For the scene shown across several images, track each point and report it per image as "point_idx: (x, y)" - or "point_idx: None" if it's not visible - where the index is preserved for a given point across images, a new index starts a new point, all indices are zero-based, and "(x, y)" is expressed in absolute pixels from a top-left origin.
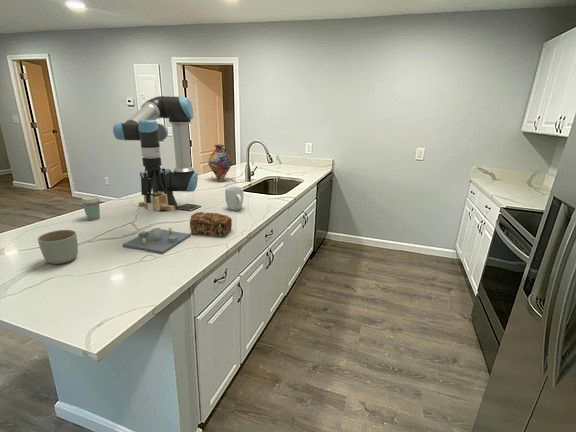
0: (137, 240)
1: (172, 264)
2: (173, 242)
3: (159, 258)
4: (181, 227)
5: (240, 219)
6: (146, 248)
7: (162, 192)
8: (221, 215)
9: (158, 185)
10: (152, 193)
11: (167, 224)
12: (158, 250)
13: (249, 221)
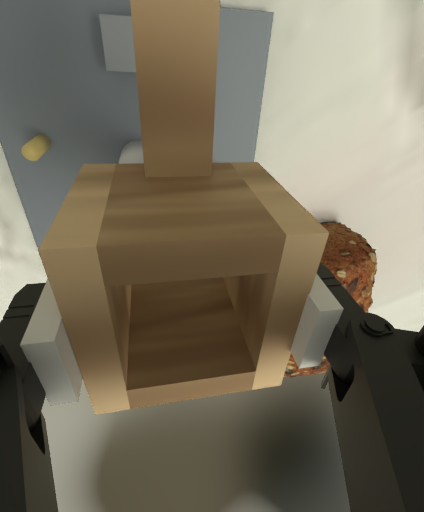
0: (58, 49)
1: None
2: None
3: (9, 266)
4: (332, 148)
5: (420, 298)
6: (16, 182)
7: (298, 360)
8: (328, 362)
9: (366, 443)
10: (272, 244)
11: (377, 31)
12: (38, 242)
13: (398, 325)
